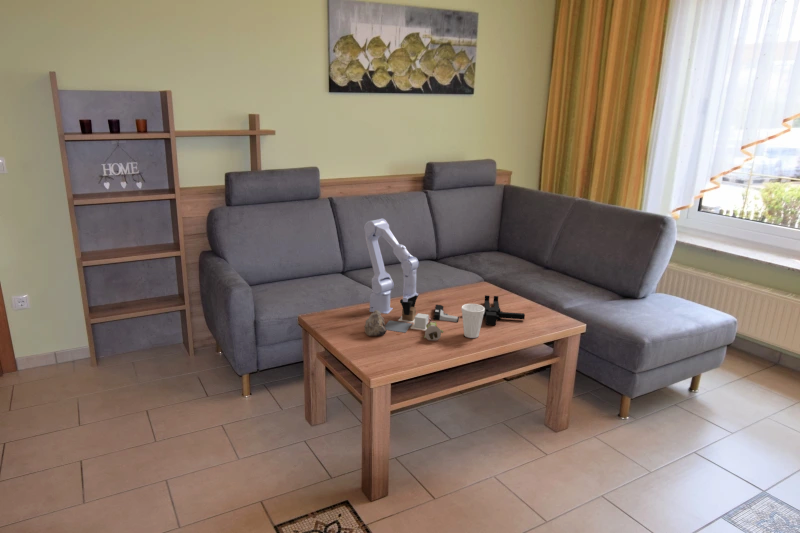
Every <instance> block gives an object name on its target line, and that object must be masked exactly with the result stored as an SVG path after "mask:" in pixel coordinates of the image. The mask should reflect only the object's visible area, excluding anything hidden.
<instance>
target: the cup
mask: <svg viewBox="0 0 800 533" xmlns="http://www.w3.org/2000/svg"><path fill="white" fill-rule="evenodd" d="M484 311H485V306H483V305H481V304H477V303H465V304H463V305H462V306H461V313H462V325H463V326H462V328H463V335H464V336H465V337H466V338H469V339H476V338H478V337H479V336H480V331H481V327H482V324H483V319H484V317H483V315H484Z"/></svg>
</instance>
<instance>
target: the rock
mask: <svg viewBox="0 0 800 533" xmlns="http://www.w3.org/2000/svg"><path fill="white" fill-rule="evenodd" d="M385 322H386V321H385V318H384V317H383V316H382V313H380V311H378V310H375V311H374V312H371V314H370V315H369V316H368V318H367V319H366V320H365V325H364V333H365V334H366V335H367V336H368V337H374V336H378V337H379V336H380V337H383V336H384V335H386V333H387V330H386V328H385V327H386V326H385V325H386V323H385Z"/></svg>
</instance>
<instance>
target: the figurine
mask: <svg viewBox="0 0 800 533" xmlns="http://www.w3.org/2000/svg"><path fill="white" fill-rule="evenodd" d="M437 324H438V323H437V320H435V321H434V320H433V321H432V318H431V316H429V317H428V323H427V325H426V327H427V329H426V330H424V336H423V338H424V339H427V340H428V341H438V340H439V339H441V337H442V334H443V333H444V330H443V329H441V328H440V327H438V325H437Z"/></svg>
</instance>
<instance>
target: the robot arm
mask: <svg viewBox="0 0 800 533" xmlns="http://www.w3.org/2000/svg"><path fill="white" fill-rule="evenodd" d="M363 229H364V234H365V242H366V247H367V250H368V253H369V259H370V262H371V266H372V270H373V273H374V275H373V276H372V278H371V289H372V292H371V293H370V296H369V312H371V313H374V311H375V310H378V311H380V313H381V314H384V315H388V314H390V312H391V311H393V307H391V293H392V290H393V289H394V287H395V284H394V283H395V282H394V281H393V279H392V277H391V274H390V273H388V272H387V271H386V267H385V263H384V259H383V256H382V251H381V248H380V244H379V241H378V240H379V239H380V237H382V238H383V239H384V240H385V241H386V242H387V243H388V244H389V245H390V247H391V248H392V249H393V250H392V253H393V254H394V256H395V257H396V258H397V260H398V261H399V262H400V267H401V270H402V274H403V292H402V298H401V299H400V300H399V301H400V302H399V303H400V305H401V306H402V309H403V311H404V315H409V313H410V308H411V307H416V302H417V299H418V297H419V295H420V294H419V293H417V270H418V269H419V267H420V261H419V260H418V258H417V257H416V256H413V255H412V254H411V253H410V252H409V251H408V249H407V247H406V246H405V245H404V244H400V243H399V241H398V239H397V238H396V237H395V235H394V234H393V232H392V231H391V229H390V224H389V223H388V221H387V220H386V219H385V218H382V217H381V218H378V219H374V220H367V221H366V223H365V224H364V226H363Z"/></svg>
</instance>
